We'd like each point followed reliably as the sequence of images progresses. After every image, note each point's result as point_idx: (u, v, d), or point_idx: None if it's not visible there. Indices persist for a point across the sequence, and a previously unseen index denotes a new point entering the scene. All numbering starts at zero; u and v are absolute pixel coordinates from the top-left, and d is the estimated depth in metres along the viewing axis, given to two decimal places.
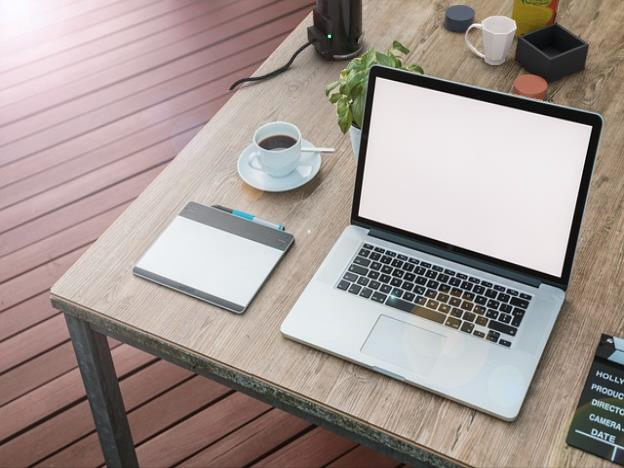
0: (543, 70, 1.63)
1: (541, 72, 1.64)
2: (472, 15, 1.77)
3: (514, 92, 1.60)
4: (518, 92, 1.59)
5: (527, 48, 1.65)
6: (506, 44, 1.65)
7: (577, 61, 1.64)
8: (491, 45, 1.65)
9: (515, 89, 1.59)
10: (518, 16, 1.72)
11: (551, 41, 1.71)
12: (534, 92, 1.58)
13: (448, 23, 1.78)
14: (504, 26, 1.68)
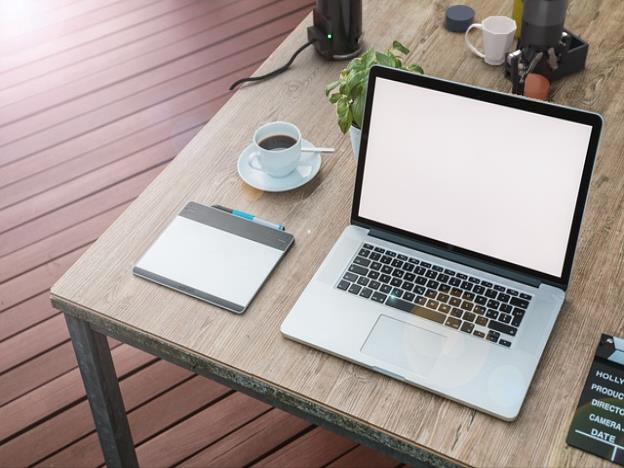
0: None
1: (541, 72, 1.64)
2: (472, 15, 1.77)
3: None
4: None
5: None
6: (506, 44, 1.65)
7: (577, 61, 1.64)
8: (491, 45, 1.65)
9: None
10: (518, 16, 1.72)
11: None
12: (537, 91, 1.58)
13: (448, 23, 1.78)
14: (504, 26, 1.68)
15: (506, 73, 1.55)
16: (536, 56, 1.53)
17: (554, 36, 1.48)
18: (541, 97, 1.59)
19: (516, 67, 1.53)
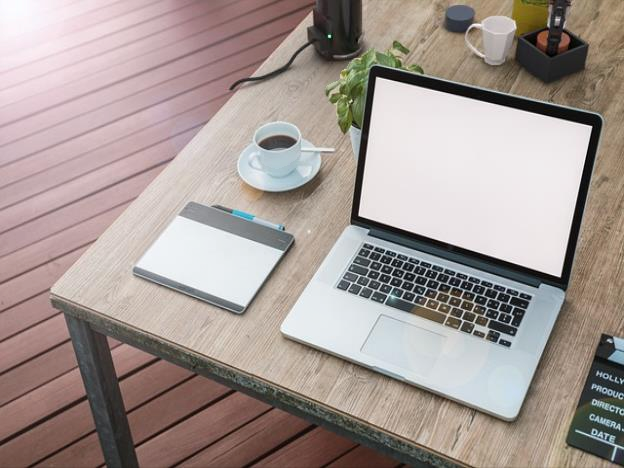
0: (543, 70, 1.63)
1: (541, 72, 1.64)
2: (472, 15, 1.77)
3: None
4: None
5: (527, 48, 1.65)
6: (506, 44, 1.65)
7: (577, 61, 1.64)
8: (491, 45, 1.65)
9: None
10: (518, 16, 1.72)
11: None
12: (566, 42, 1.63)
13: (448, 23, 1.78)
14: (504, 26, 1.68)
15: (550, 36, 1.57)
16: (569, 9, 1.57)
17: None
18: (568, 47, 1.64)
19: (563, 26, 1.55)
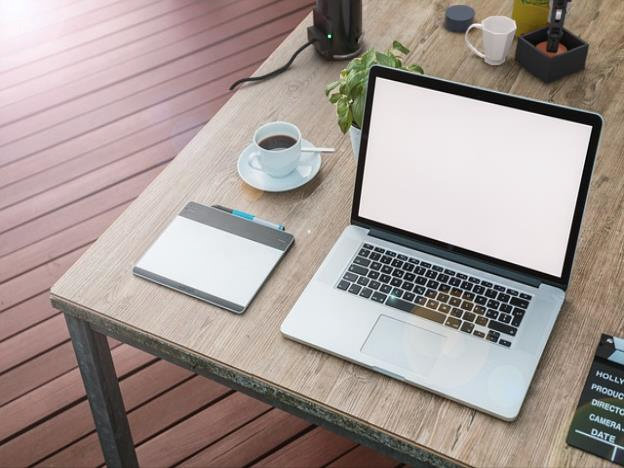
0: (543, 70, 1.63)
1: (541, 72, 1.64)
2: (472, 15, 1.77)
3: None
4: None
5: (527, 48, 1.65)
6: (506, 44, 1.65)
7: (577, 61, 1.64)
8: (491, 45, 1.65)
9: None
10: (518, 16, 1.72)
11: None
12: None
13: (448, 23, 1.78)
14: (504, 26, 1.68)
15: (550, 31, 1.56)
16: (570, 4, 1.56)
17: None
18: None
19: (564, 20, 1.54)
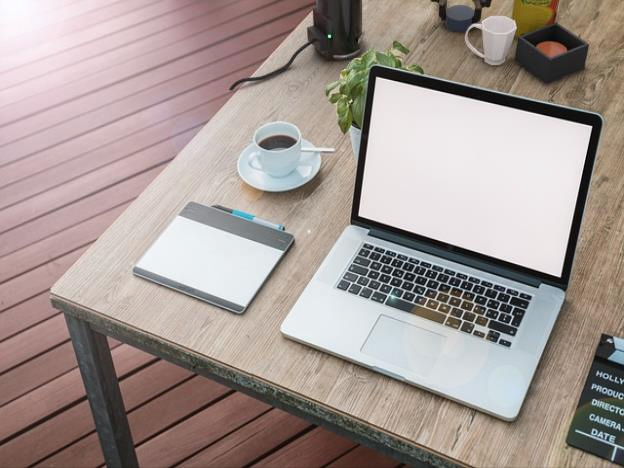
0: (543, 70, 1.63)
1: (541, 72, 1.64)
2: (472, 15, 1.77)
3: None
4: None
5: (527, 48, 1.65)
6: (506, 44, 1.65)
7: (577, 61, 1.64)
8: (491, 45, 1.65)
9: None
10: (518, 16, 1.72)
11: (551, 41, 1.71)
12: None
13: (448, 23, 1.78)
14: (504, 26, 1.68)
15: None
16: None
17: None
18: None
19: None
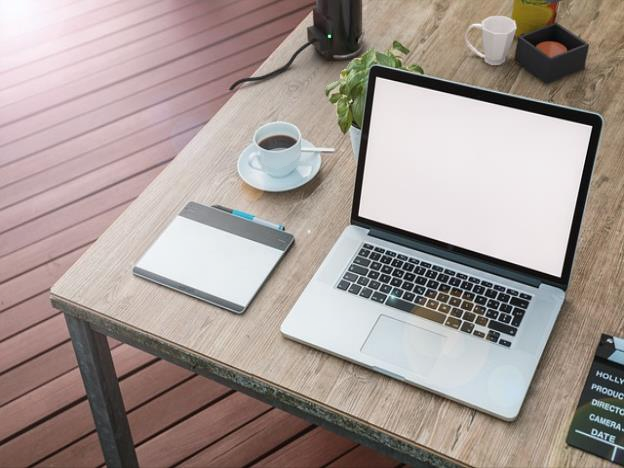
0: (543, 70, 1.63)
1: (541, 72, 1.64)
2: None
3: None
4: None
5: (527, 48, 1.65)
6: (506, 44, 1.65)
7: (577, 61, 1.64)
8: (491, 45, 1.65)
9: None
10: (518, 16, 1.72)
11: (551, 41, 1.71)
12: None
13: None
14: (504, 26, 1.68)
15: None
16: None
17: None
18: None
19: None
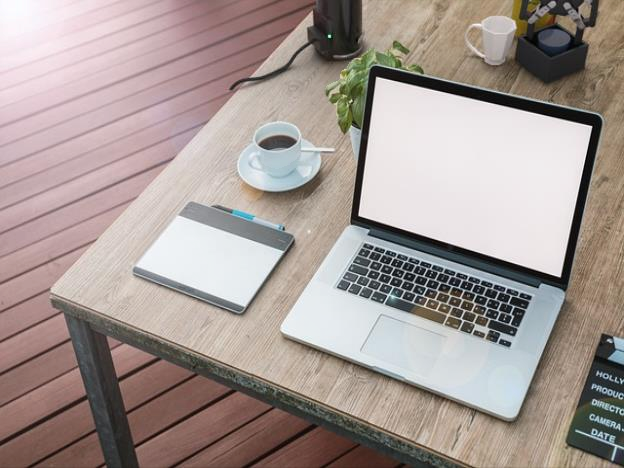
0: (543, 70, 1.63)
1: (541, 72, 1.64)
2: (568, 41, 1.63)
3: None
4: None
5: (527, 48, 1.65)
6: (506, 44, 1.65)
7: (577, 61, 1.64)
8: (491, 45, 1.65)
9: None
10: (518, 16, 1.72)
11: None
12: None
13: (541, 50, 1.64)
14: (504, 26, 1.68)
15: None
16: (549, 3, 1.57)
17: None
18: None
19: (526, 3, 1.59)
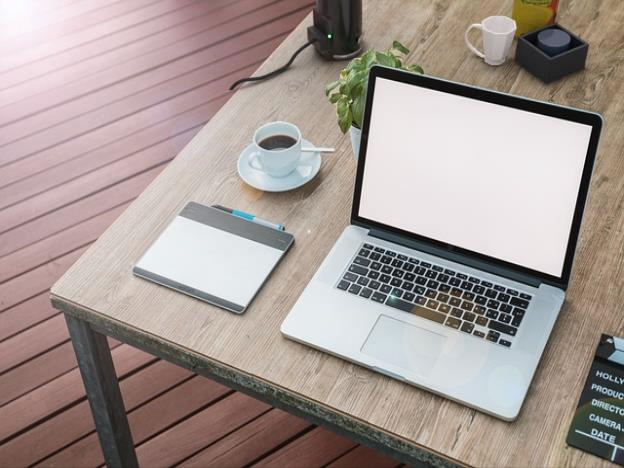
0: (543, 70, 1.63)
1: (541, 72, 1.64)
2: (568, 41, 1.63)
3: None
4: None
5: (527, 48, 1.65)
6: (506, 44, 1.65)
7: (577, 61, 1.64)
8: (491, 45, 1.65)
9: None
10: (518, 16, 1.72)
11: None
12: None
13: (541, 50, 1.64)
14: (504, 26, 1.68)
15: None
16: None
17: None
18: None
19: None
